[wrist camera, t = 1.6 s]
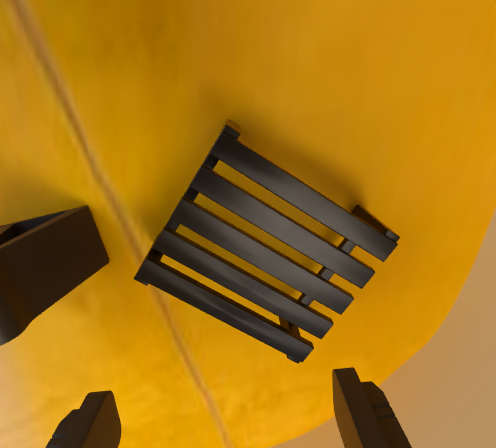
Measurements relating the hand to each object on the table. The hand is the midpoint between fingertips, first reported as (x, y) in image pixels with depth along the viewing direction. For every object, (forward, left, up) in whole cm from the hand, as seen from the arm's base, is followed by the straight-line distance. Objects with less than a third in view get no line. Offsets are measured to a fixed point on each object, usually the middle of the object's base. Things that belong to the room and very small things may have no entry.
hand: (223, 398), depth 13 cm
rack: (+3, 0, -23) cm, 23 cm away
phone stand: (-13, -12, -23) cm, 29 cm away
